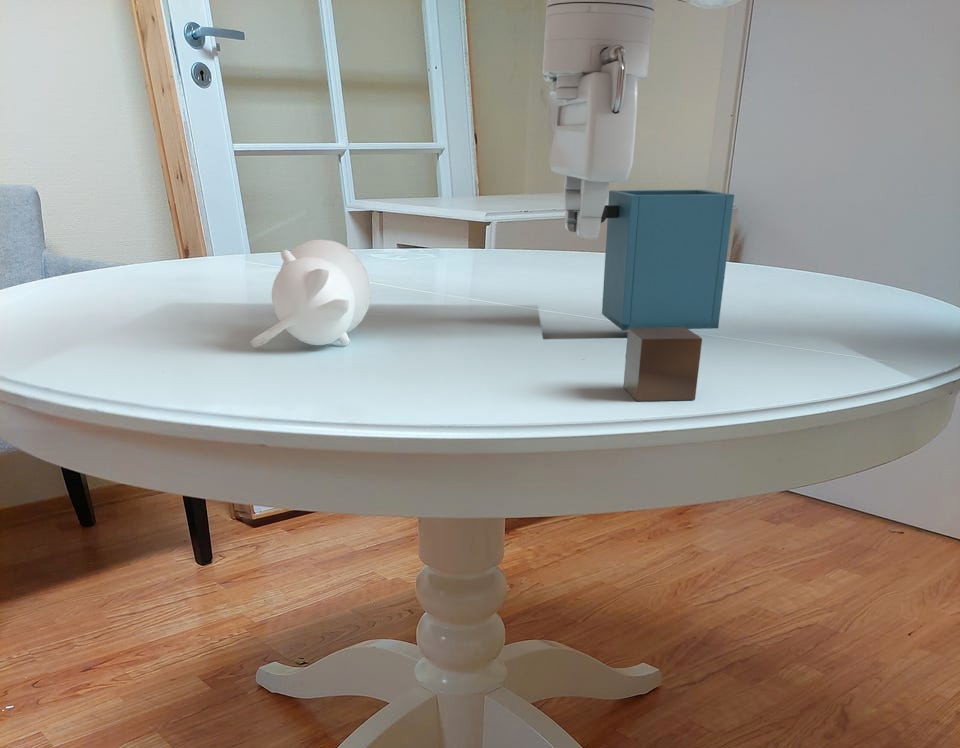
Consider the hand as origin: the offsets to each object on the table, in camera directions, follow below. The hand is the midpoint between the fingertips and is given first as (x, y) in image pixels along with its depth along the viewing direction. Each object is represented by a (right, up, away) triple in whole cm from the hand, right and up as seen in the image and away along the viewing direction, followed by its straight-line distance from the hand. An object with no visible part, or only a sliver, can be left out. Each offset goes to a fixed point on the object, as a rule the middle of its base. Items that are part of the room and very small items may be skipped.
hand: (580, 234), depth 81 cm
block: (+3, -20, -20) cm, 28 cm away
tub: (+6, -6, +4) cm, 10 cm away
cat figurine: (-23, -11, -4) cm, 26 cm away
